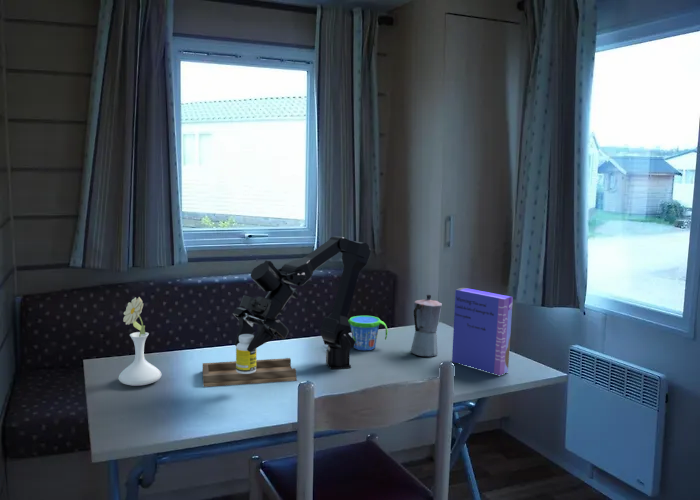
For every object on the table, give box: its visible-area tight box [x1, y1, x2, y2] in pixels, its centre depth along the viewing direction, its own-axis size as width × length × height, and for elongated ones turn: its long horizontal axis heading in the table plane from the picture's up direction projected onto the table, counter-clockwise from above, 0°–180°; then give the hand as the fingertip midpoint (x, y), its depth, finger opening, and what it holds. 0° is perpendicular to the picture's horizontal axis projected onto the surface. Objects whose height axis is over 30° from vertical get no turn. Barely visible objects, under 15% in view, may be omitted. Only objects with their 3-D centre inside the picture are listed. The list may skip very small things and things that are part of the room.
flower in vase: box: [118, 296, 162, 387], centre depth 166 cm, size 13×11×25 cm
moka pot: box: [410, 294, 443, 357], centre depth 199 cm, size 10×15×20 cm, turn 148°
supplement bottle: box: [235, 334, 257, 374], centre depth 161 cm, size 5×5×10 cm
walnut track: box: [202, 357, 298, 388], centre depth 175 cm, size 26×13×3 cm, turn 105°
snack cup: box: [348, 315, 389, 351], centre depth 205 cm, size 16×10×10 cm
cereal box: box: [451, 287, 514, 376], centre depth 187 cm, size 17×5×24 cm, turn 45°
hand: (241, 348), depth 160 cm, fingers closed on supplement bottle, 5 cm apart
